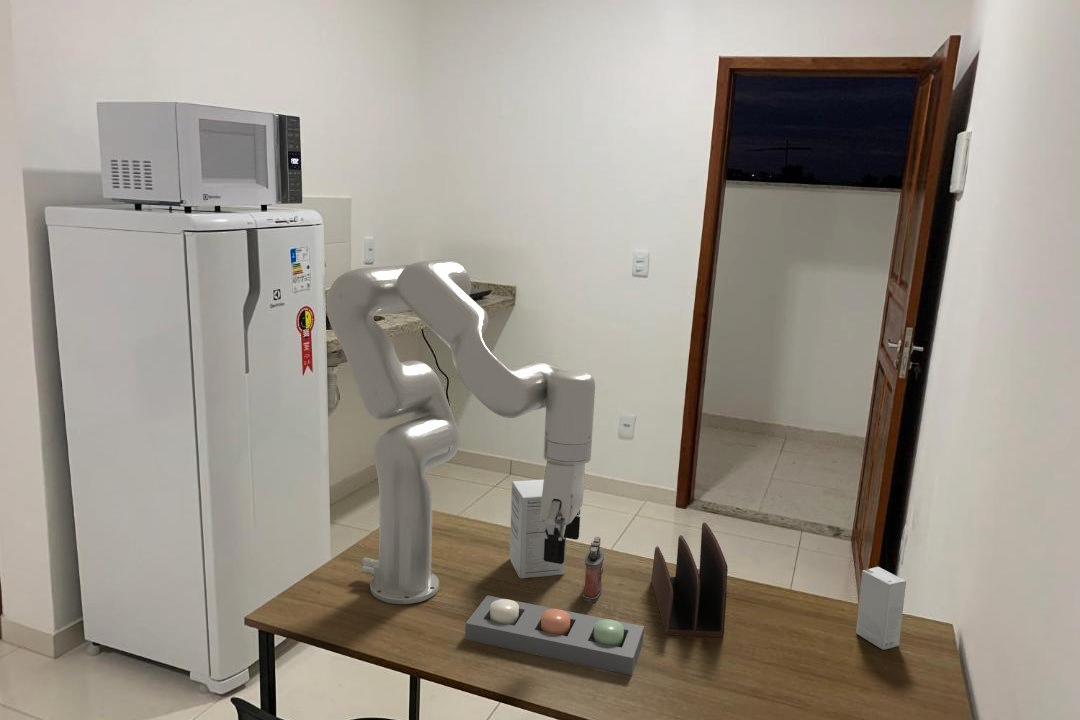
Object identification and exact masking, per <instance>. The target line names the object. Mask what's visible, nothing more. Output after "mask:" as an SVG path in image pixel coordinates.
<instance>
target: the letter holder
mask: <svg viewBox="0 0 1080 720" xmlns="http://www.w3.org/2000/svg"><path fill="white" fill-rule="evenodd" d="M700 534H701V535H700V537H701V538H700V553H699V554H700V555H699V569H698V568H697V565H696V562H695V559H694V556H693V553H692V551H691V549H690V546H689V545H688V543H687V541H686V539H685V537H684V536H683V535H679V536H678V540H677V551H676V565H675V567H676V568H675V576H670V572H669V568H668V565H667V562H666V559H665V557H664V555H663V553H662V550H661V549H660V547H659V546H658V545H656V546H655V548H654V553H653V554H654V555H653V563H652V572H651V578H650V579H651V583H652V587H653V591H654V595H655V598H656V601H657V605H658V610H659V613H660V616H661V618H662V623H663V626H664V630H665V633H666V635H668V636H669V635H670V636H671V635H672V636H685V635H686V636H687V637H688V636H689V637H711V638H723V637H724V636H725V623H726V610H727V608H726V607H727V596H728V594H727V589H728V588H727V587H728V585H727V584H728V572H729V571H728V563H727V560H726V558H725V556H724V553H723V551H722V548H721V546H720V544H719V542H718V540H717V538H716V536H715V534H714V533H713V531H712V528H710V526H709V525H708V524H707V522H705V521H702V525H701V533H700ZM698 570H699V571H698Z"/></svg>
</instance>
